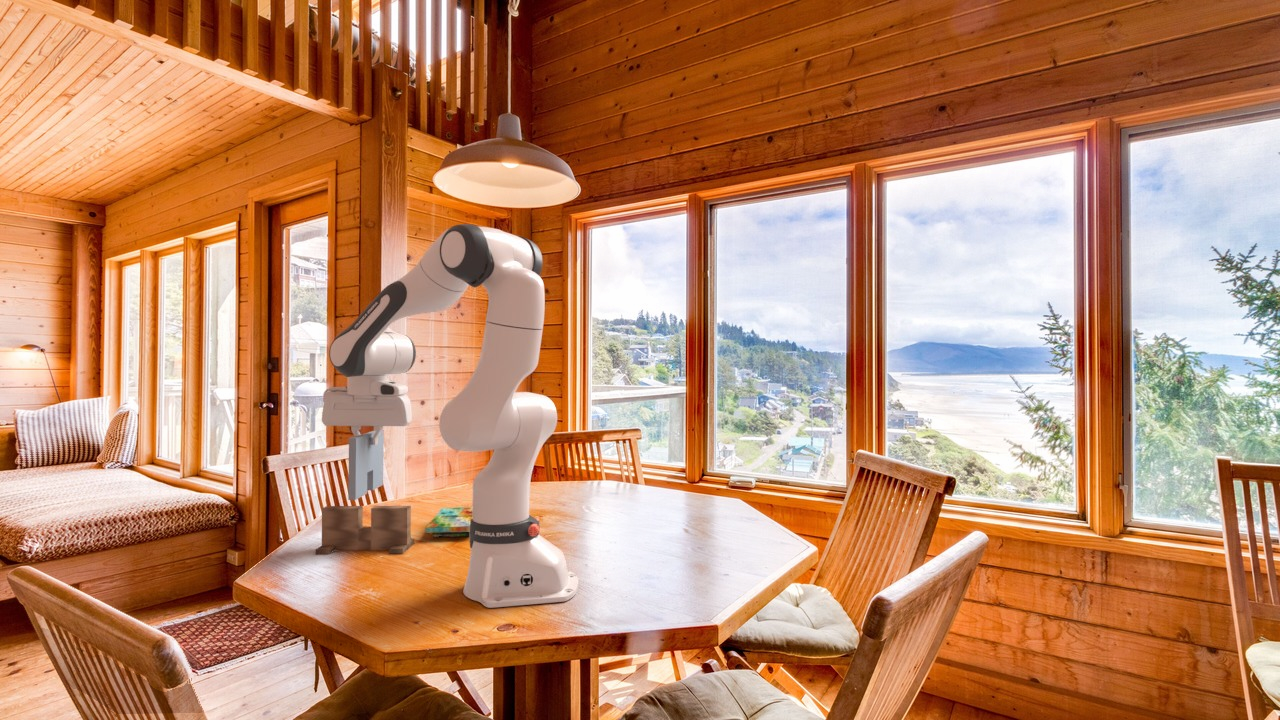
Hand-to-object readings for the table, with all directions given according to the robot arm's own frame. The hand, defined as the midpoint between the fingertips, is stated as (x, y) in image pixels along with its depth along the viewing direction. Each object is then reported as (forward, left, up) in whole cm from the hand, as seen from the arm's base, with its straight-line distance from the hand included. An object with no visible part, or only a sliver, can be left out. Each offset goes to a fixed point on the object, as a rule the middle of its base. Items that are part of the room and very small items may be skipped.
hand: (367, 444), depth 143 cm
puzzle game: (-17, -16, -26) cm, 35 cm away
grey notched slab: (0, 0, -11) cm, 11 cm away
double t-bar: (0, 0, -25) cm, 25 cm away
